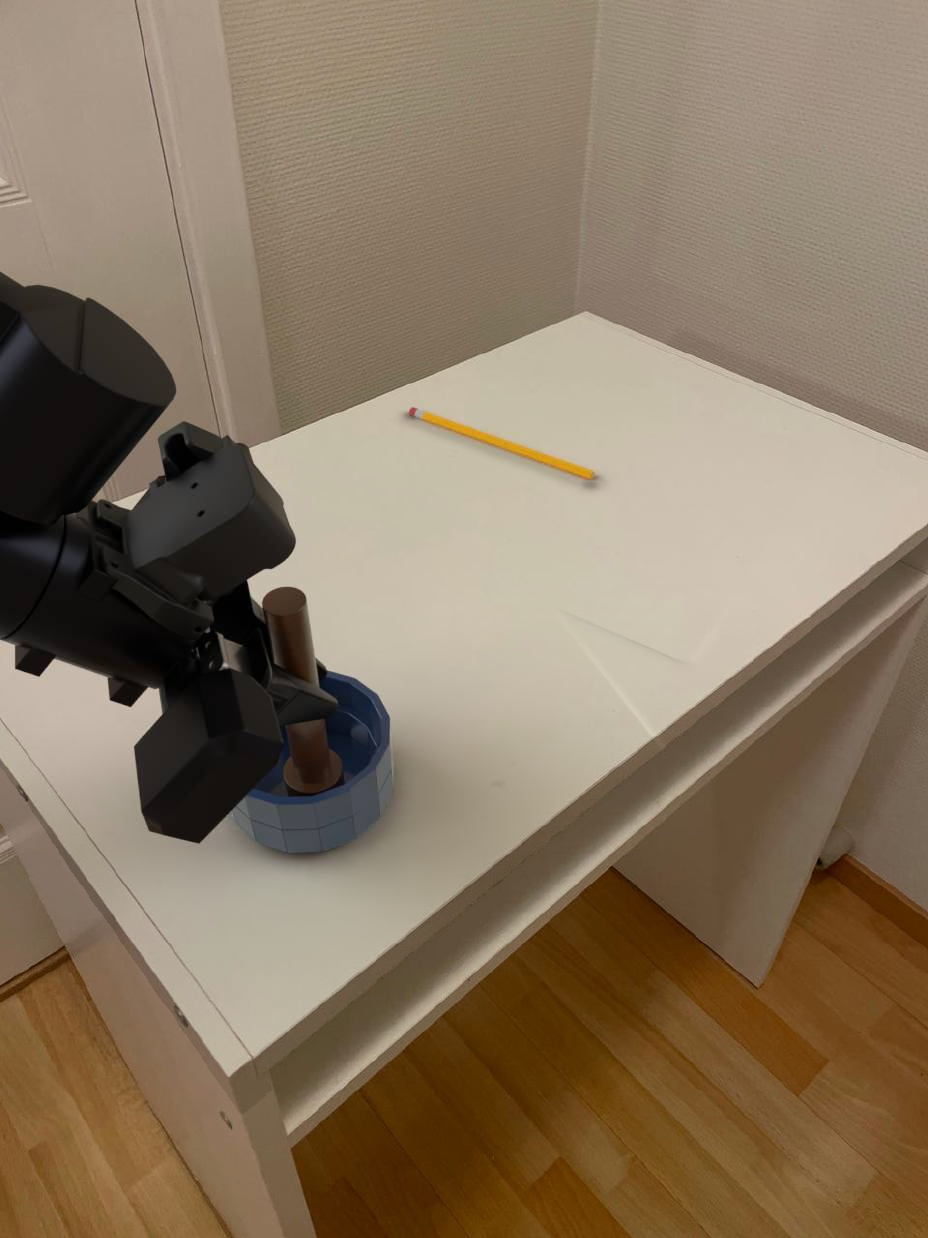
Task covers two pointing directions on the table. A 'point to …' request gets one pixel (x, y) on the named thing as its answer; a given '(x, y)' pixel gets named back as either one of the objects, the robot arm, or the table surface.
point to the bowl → (340, 811)
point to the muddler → (294, 652)
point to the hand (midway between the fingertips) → (327, 693)
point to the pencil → (502, 443)
